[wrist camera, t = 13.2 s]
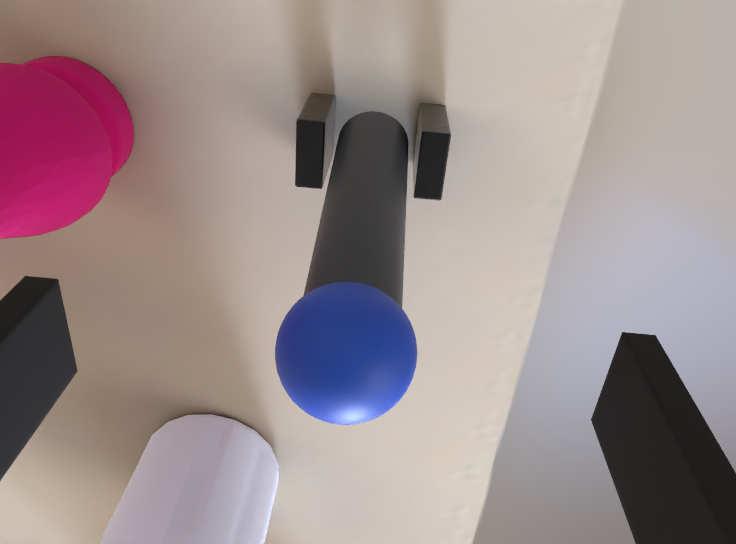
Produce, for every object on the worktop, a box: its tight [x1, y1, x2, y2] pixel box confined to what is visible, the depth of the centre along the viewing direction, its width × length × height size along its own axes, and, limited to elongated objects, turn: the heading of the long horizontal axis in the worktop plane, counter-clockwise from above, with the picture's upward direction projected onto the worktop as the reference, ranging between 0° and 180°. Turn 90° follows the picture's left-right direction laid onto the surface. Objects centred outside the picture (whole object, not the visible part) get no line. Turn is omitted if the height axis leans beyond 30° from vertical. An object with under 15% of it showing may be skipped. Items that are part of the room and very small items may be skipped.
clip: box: [295, 93, 451, 200], centre depth 28 cm, size 3×6×4 cm, turn 86°
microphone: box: [275, 112, 417, 425], centre depth 23 cm, size 15×4×4 cm
